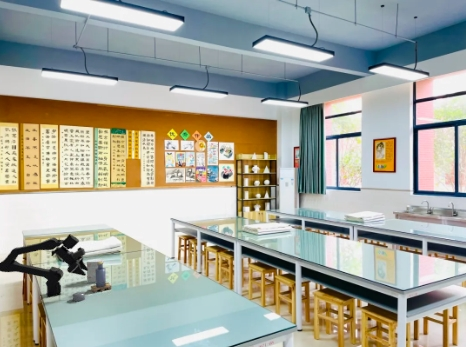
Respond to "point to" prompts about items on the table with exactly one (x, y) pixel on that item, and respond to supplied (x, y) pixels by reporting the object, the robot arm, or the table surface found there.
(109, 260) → the table surface
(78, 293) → the grey rounded block
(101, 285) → the ink bottle
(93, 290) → the dock
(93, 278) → the small box
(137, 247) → the table surface
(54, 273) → the robot arm
